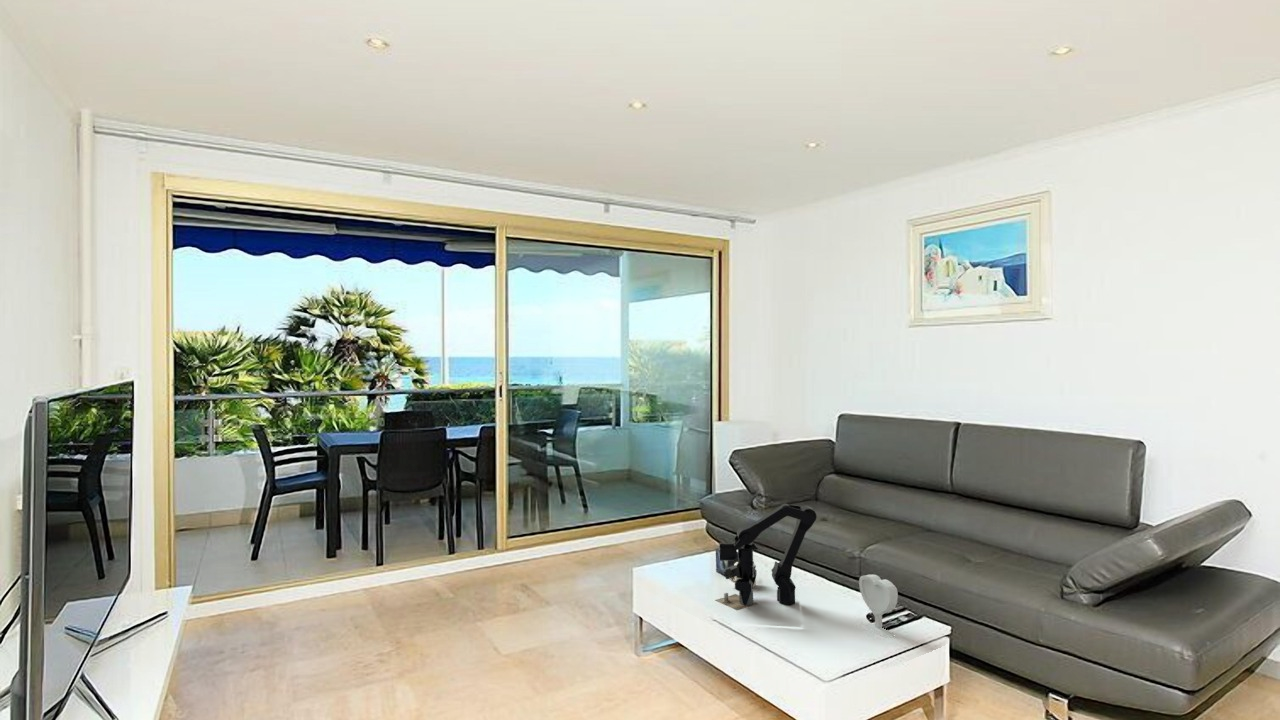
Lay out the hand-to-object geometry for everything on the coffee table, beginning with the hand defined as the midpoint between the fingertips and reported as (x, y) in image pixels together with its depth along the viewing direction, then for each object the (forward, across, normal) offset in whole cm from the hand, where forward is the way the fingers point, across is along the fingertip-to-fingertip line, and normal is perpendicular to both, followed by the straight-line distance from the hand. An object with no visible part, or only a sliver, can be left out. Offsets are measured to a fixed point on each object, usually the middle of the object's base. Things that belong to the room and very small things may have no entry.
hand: (746, 600), depth 264 cm
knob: (+1, 0, 0) cm, 1 cm away
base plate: (+2, 0, -4) cm, 4 cm away
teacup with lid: (+2, -20, -4) cm, 20 cm away
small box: (+2, -35, -13) cm, 37 cm away
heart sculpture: (+2, +13, +48) cm, 49 cm away
